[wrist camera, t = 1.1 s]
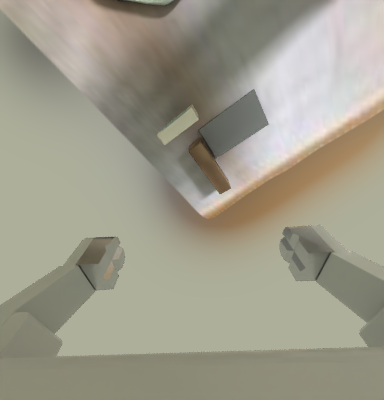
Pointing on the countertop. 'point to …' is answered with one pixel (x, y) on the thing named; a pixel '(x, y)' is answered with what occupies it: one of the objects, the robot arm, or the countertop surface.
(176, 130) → the tile
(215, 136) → the pad
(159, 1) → the plate of avocado toast
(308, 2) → the countertop surface
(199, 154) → the brown long block
